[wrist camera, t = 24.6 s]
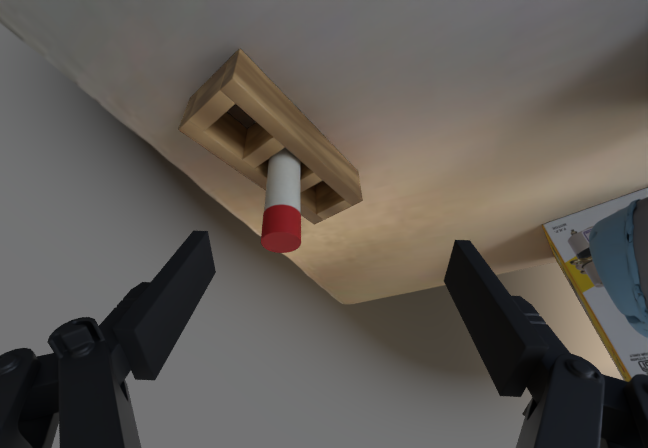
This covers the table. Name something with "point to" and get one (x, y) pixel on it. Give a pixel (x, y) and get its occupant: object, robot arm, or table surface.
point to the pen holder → (269, 137)
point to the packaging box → (598, 284)
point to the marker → (282, 204)
